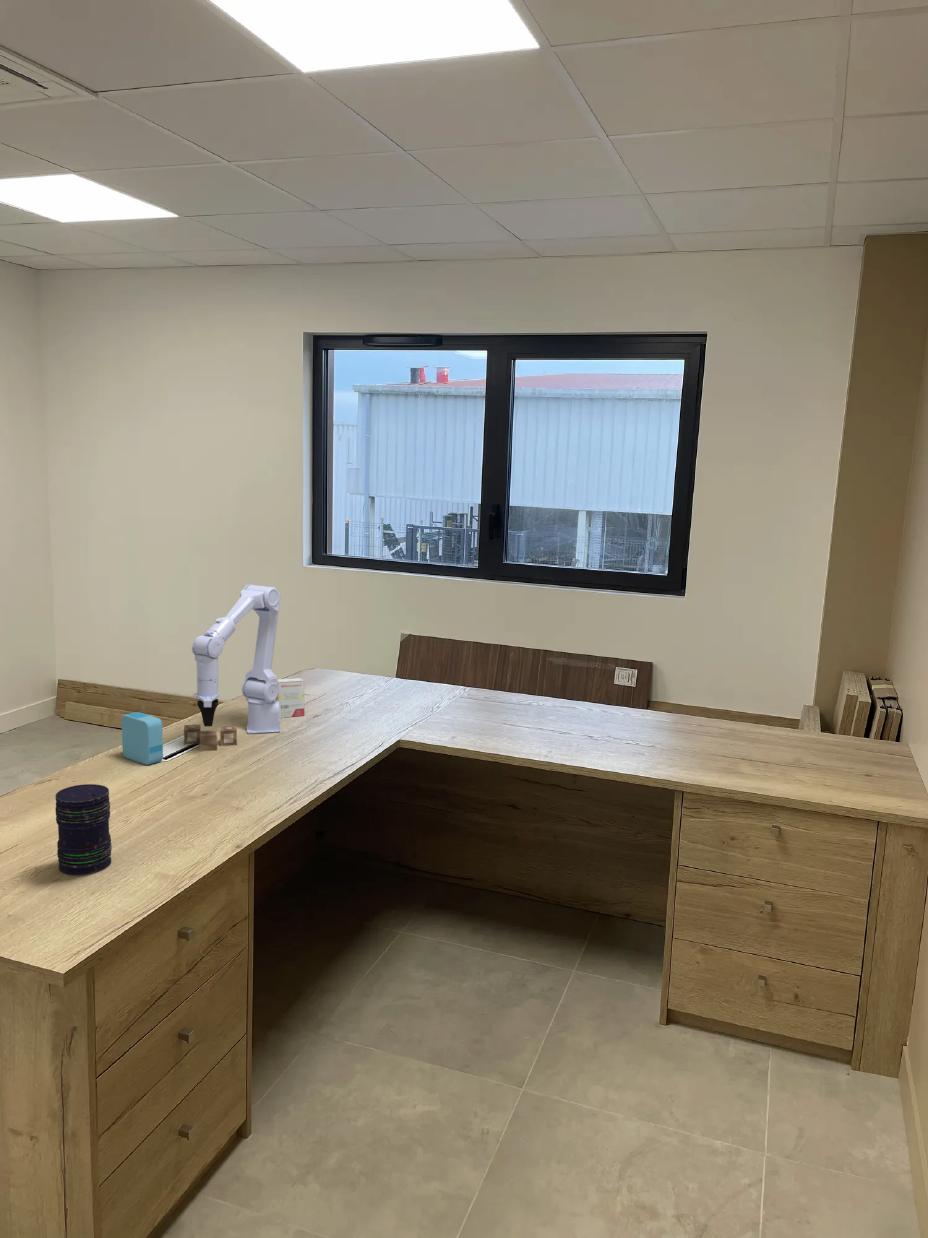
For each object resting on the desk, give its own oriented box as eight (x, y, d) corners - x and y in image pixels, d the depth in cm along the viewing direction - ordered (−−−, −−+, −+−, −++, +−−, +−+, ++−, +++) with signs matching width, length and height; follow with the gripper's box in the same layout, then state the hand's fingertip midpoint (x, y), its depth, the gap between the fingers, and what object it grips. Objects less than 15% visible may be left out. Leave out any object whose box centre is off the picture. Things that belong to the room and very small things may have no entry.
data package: (163, 762, 237) (162, 719, 235) (148, 766, 234) (147, 722, 232) (137, 753, 244) (135, 710, 242) (122, 756, 241) (121, 714, 239)
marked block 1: (200, 739, 258) (200, 724, 257) (200, 744, 254) (200, 728, 253) (184, 740, 257) (184, 724, 256) (184, 745, 253) (183, 729, 252)
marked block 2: (236, 740, 258) (236, 725, 257) (236, 745, 254) (236, 729, 253) (220, 741, 257) (220, 726, 256) (220, 746, 252) (220, 730, 252)
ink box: (301, 712, 290) (301, 677, 288) (304, 716, 286) (304, 680, 284) (274, 714, 287) (274, 678, 285) (278, 718, 282) (278, 682, 280)
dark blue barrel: (46, 870, 173) (42, 797, 170) (84, 850, 182) (81, 781, 179) (86, 879, 169) (83, 805, 167) (123, 859, 178) (120, 788, 176)
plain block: (216, 745, 253) (216, 730, 252) (216, 750, 249) (216, 735, 248) (200, 746, 252) (200, 731, 251) (200, 751, 247) (200, 736, 247)
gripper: (193, 673, 253) (193, 719, 255) (191, 685, 239) (192, 733, 241) (218, 672, 254) (219, 718, 257) (219, 684, 241) (219, 732, 243)
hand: (208, 725), depth 249 cm, fingers closed
